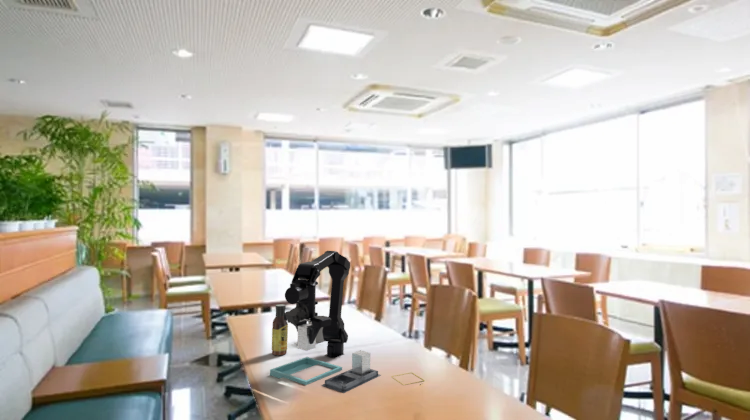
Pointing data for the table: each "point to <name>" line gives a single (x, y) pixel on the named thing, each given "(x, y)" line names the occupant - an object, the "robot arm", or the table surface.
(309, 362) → the teal tray
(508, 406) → the table surface
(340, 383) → the dark grey tray
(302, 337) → the billet
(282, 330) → the sauce bottle
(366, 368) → the block
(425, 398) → the table surface
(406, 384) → the yellow square frame
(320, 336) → the cup
